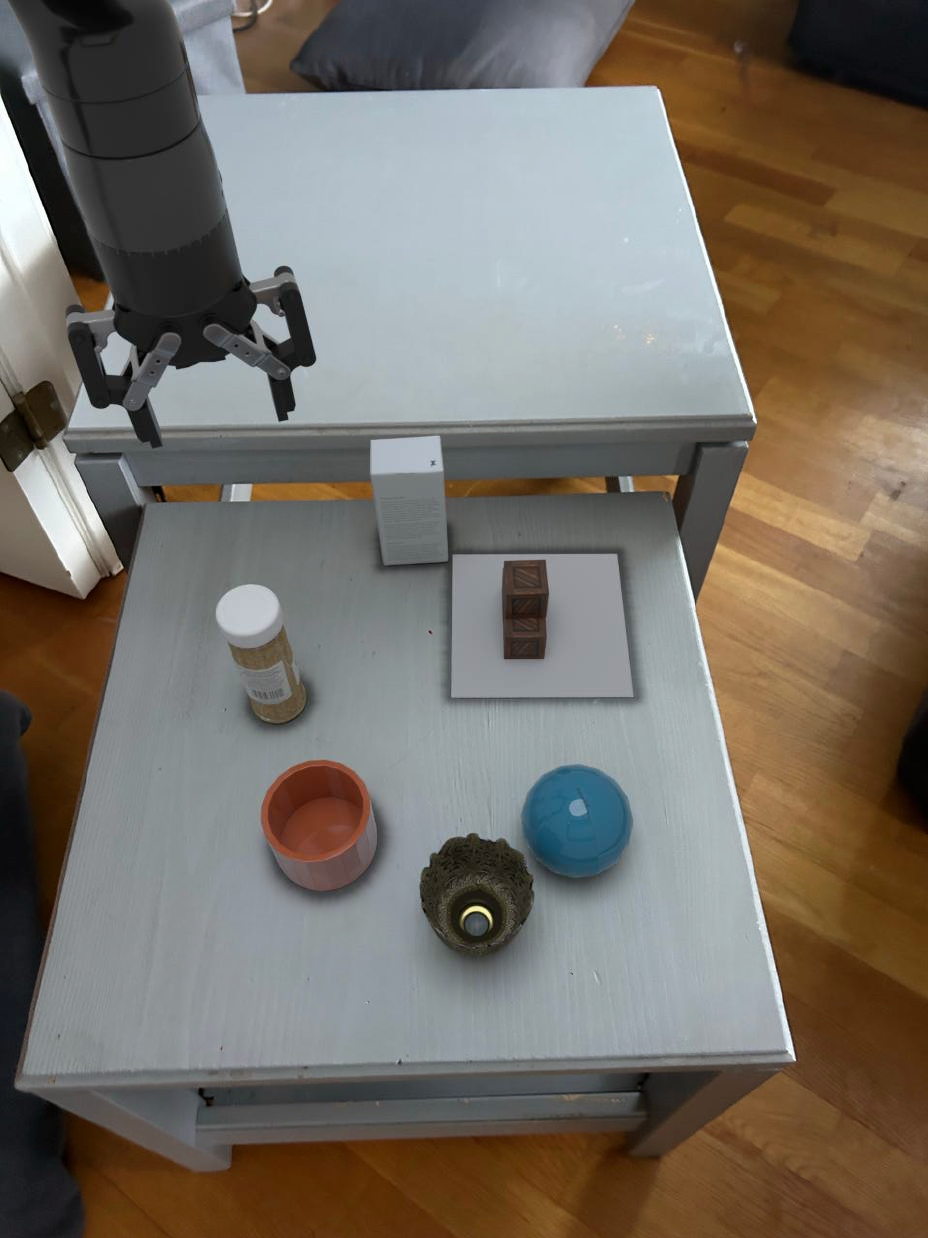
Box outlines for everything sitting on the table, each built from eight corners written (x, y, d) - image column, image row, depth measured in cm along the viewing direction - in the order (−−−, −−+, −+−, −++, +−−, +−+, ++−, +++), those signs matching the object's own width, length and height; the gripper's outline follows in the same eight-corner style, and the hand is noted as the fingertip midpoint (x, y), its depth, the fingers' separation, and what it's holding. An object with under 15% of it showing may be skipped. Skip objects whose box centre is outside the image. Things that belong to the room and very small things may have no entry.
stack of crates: (633, 697, 78) (646, 652, 72) (451, 697, 78) (449, 653, 72) (617, 554, 86) (627, 504, 81) (452, 554, 86) (451, 504, 81)
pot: (292, 907, 68) (278, 878, 63) (264, 815, 72) (248, 782, 67) (391, 868, 70) (385, 837, 65) (358, 780, 74) (350, 745, 69)
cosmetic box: (446, 527, 88) (442, 433, 78) (448, 563, 86) (445, 471, 76) (381, 530, 88) (369, 437, 78) (381, 567, 86) (369, 475, 76)
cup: (412, 963, 66) (405, 929, 59) (438, 863, 70) (435, 821, 63) (516, 990, 65) (521, 958, 58) (537, 887, 69) (544, 846, 62)
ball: (601, 779, 74) (613, 731, 67) (642, 875, 69) (660, 833, 63) (503, 808, 72) (506, 762, 66) (539, 908, 68) (546, 869, 61)
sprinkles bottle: (314, 684, 79) (288, 588, 68) (295, 731, 76) (264, 640, 65) (263, 672, 79) (229, 575, 68) (242, 718, 77) (203, 626, 66)
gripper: (22, 270, 48) (119, 488, 61) (298, 220, 50) (334, 441, 64) (16, 190, 52) (109, 411, 65) (272, 148, 54) (311, 369, 68)
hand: (220, 426), depth 64 cm, fingers open, 8 cm apart
